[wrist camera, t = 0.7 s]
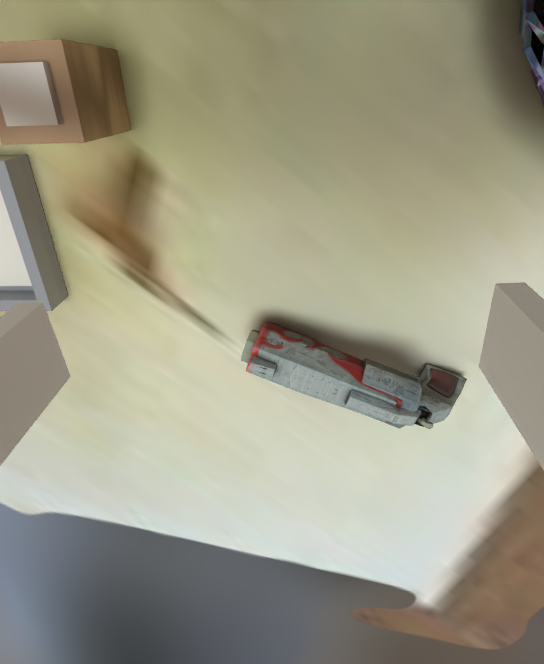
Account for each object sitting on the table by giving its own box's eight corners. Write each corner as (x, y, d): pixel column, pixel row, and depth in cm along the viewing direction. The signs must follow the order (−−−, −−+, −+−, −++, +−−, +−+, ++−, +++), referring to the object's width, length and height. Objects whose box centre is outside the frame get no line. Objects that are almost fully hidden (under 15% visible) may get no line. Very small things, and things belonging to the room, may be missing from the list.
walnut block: (47, 53, 30) (-38, 42, 22) (117, 50, 30) (55, 38, 22) (66, 132, 32) (-4, 145, 25) (131, 130, 32) (79, 143, 25)
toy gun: (272, 292, 42) (242, 339, 33) (470, 364, 40) (493, 433, 32) (260, 330, 44) (229, 383, 35) (448, 400, 42) (463, 473, 34)
